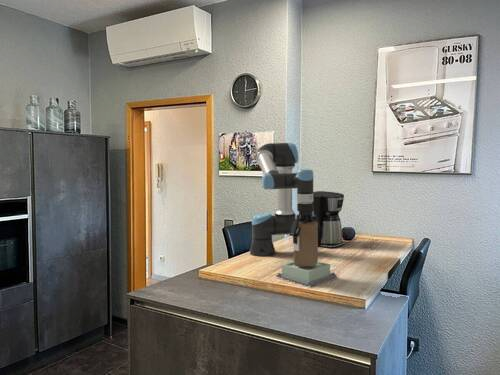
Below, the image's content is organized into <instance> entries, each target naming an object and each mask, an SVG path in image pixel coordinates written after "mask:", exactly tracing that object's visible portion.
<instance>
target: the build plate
mask: <svg viewBox="0 0 500 375" xmlns="http://www.w3.org/2000/svg"><path fill="white" fill-rule="evenodd" d="M276 277H279V278H283V279H286V280H289V281H288V282H290V281H292V282H291V283H293V282H295V283H294V284H297V283H299V284H298V285H300V284H302V285H301V286H303V285H306V286H305V287H307V286H312V287H314V286H317V285H319V284H318V283H320V284H322V283H325V282H326V281H329V280H332V279H335V278H337V274H336V273H335V272H334V271H333V272H331V264H330V263H327V262H323V261H319V260H318V261H317V264H316V266H315V267H304V266H295V265H294V260H293V261H290V262H287V263H286V262H285V263H282V264H281V273H280V272H278V273H277V274H276V275H275V278H276ZM279 278H278V279H279ZM283 279H282V280H283ZM286 280H285V281H286ZM324 281H325V282H324ZM321 282H322V283H321ZM316 284H317V285H316ZM313 285H314V286H313Z"/></svg>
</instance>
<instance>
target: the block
mask: <svg viewBox="0 0 500 375" xmlns="http://www.w3.org/2000/svg"><path fill="white" fill-rule="evenodd" d="M300 222H301V221H300ZM300 226H301V230H300V233H299V235H298V237H299V251H296V250H294V249H293V261H294V265H295V266H304V267H315V266H316V264H317V261H319V253H318V252H319V247H318V223H317V221H313V222H307V223H304V224H301V223H299V224H298V227H300Z"/></svg>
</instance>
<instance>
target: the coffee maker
mask: <svg viewBox="0 0 500 375" xmlns="http://www.w3.org/2000/svg"><path fill="white" fill-rule="evenodd" d="M344 199H345V195H344V194H343V193H339V192H335V191H324V190H316V191H313V202H312V203H313V204H314V210H313V211H314V212H316V213H317V218H318V222H319V225H320V228H321V229H320V232H318V248H326V249H334V248H339V247H341V246H343V245H344V244H345V241H343V228H342V222H341V221H342V220H341V218H340V216H339V213H340V212H341V211H342V208H343V205H344Z"/></svg>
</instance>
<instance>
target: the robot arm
mask: <svg viewBox="0 0 500 375" xmlns="http://www.w3.org/2000/svg"><path fill="white" fill-rule="evenodd" d="M297 148H298V147H297V146H296V144H294V143H292V142H273V143H265V144H263V145H261V146H260V147H259V148H258V149H257V151H256V153H255V161H256V163H257V165H259V167H260V169H261V172H262V176H261V185H262V188H263V189H264V190H277V209H276V210H275V212H274V215H272V213H271V212H265V213H258V214H255V215H253V217H252V218H251V226H252V227H251V232H252V240H251V244H250V248H249V254H250V255H252V256H257V257H267V256H268V257H269V256H272V255H275V254H276V248H275V245H274V242H273V236H282V235H284V236H285V235H288V236H291V237H292V242H293V243H292V244H293V251H294V250H296V251H299V237H298V235H299V233H300V230H301V226H300V227H298V224H299V223H301V224H304V223H307V222H313V221H317V223H318V232H320V229H321V228H320V225H319V222H318V218H317V213H316V212H314V211H313V210H314V204H313V203H312V202H313V192H314V177H315V176H314V170H313V169H309V168H307V169H304V168H303V169H298V170H296V172H293V169H294V168H296V164H298V162H299V152H298V149H297ZM293 189H296V191H297V192H296V202H297V204H296V207H297V208H296V210H297V212H298V214H296V213H295V211H294V210H293ZM300 221H301V222H300Z"/></svg>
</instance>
